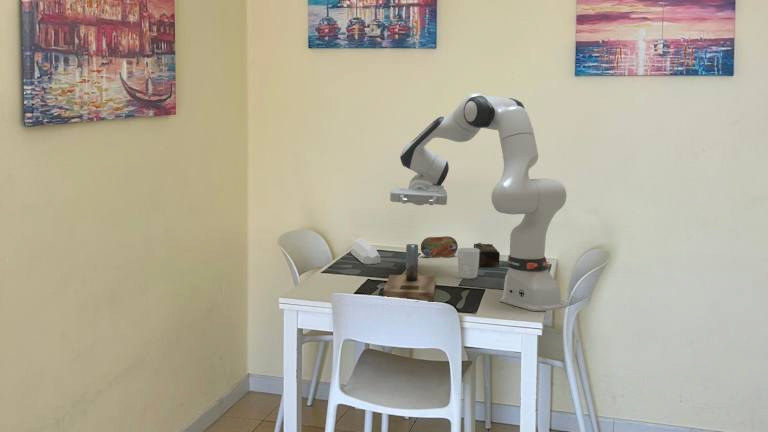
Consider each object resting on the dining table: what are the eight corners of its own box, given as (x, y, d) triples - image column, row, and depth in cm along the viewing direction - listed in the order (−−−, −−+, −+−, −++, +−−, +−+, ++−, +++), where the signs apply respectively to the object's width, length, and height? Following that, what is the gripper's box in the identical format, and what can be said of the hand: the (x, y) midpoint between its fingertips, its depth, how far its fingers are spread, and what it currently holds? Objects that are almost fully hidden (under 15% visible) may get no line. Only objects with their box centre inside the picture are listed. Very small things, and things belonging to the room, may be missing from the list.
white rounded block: (345, 244, 350) (358, 255, 327) (360, 235, 351) (374, 246, 328) (354, 259, 352) (368, 272, 329) (368, 250, 353) (383, 262, 330)
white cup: (477, 279, 306) (478, 252, 304) (455, 278, 307) (456, 251, 306) (479, 275, 314) (480, 248, 312) (458, 273, 315) (458, 247, 314)
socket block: (435, 284, 297) (436, 276, 297) (433, 301, 274) (433, 292, 273) (389, 283, 299) (389, 274, 298) (383, 300, 275) (383, 291, 275)
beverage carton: (492, 258, 345) (493, 242, 344) (500, 268, 327) (500, 251, 326) (472, 258, 345) (473, 241, 344) (479, 268, 326) (479, 251, 325)
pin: (419, 280, 290) (420, 245, 288) (409, 281, 288) (409, 246, 286) (414, 278, 293) (414, 243, 292) (403, 279, 292) (404, 244, 290)
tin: (421, 258, 343) (422, 237, 341) (419, 257, 346) (419, 236, 344) (457, 257, 346) (458, 236, 345) (455, 255, 349) (455, 235, 348)
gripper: (391, 182, 312) (388, 191, 299) (447, 185, 311) (447, 195, 297) (390, 199, 314) (387, 209, 301) (446, 202, 312) (446, 212, 299)
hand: (417, 202), depth 299 cm, fingers open, 8 cm apart
